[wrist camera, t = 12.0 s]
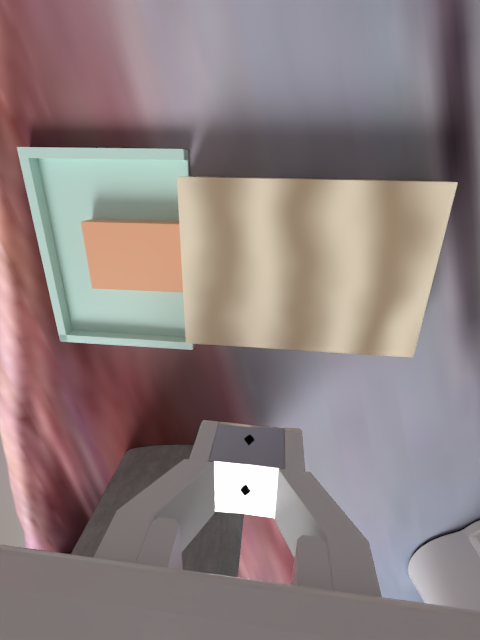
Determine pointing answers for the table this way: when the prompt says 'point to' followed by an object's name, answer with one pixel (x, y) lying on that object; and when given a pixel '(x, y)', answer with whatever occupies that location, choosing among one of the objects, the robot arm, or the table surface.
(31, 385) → the table surface
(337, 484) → the table surface
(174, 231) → the salmon pink block
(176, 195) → the tray
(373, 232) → the beige flat block
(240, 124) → the table surface
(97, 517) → the hip flask
